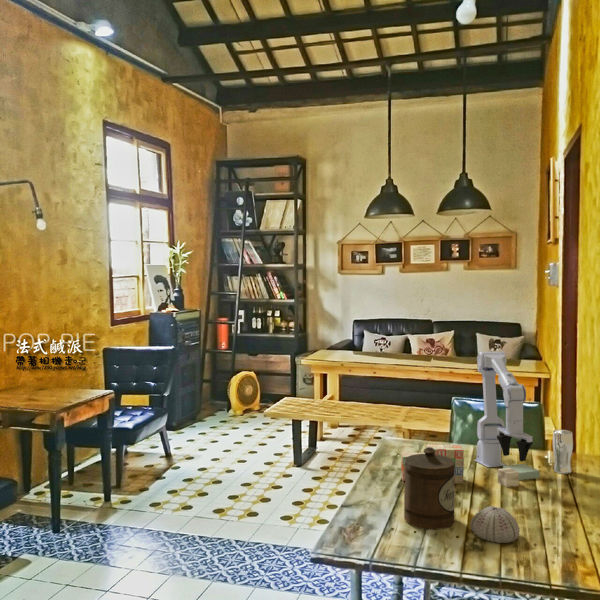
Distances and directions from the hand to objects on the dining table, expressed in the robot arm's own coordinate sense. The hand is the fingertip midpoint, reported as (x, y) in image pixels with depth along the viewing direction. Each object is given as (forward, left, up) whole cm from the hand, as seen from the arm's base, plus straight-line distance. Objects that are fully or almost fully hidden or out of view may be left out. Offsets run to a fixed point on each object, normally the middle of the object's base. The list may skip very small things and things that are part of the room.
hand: (514, 458), depth 215 cm
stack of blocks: (-13, -25, -10) cm, 30 cm away
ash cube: (-1, -2, -10) cm, 10 cm away
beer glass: (-7, +26, -10) cm, 29 cm away
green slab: (-8, +9, -10) cm, 16 cm away
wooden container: (+19, -44, -10) cm, 49 cm away
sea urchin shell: (+35, -32, -10) cm, 48 cm away
